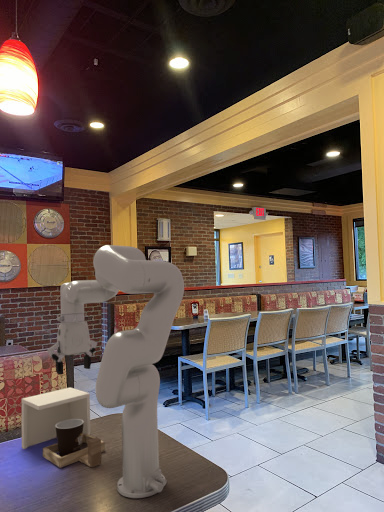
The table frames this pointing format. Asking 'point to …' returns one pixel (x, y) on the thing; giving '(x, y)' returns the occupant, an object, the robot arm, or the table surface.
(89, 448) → the wooden drawer
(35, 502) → the table surface
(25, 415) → the cream open box
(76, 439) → the coffee mug
